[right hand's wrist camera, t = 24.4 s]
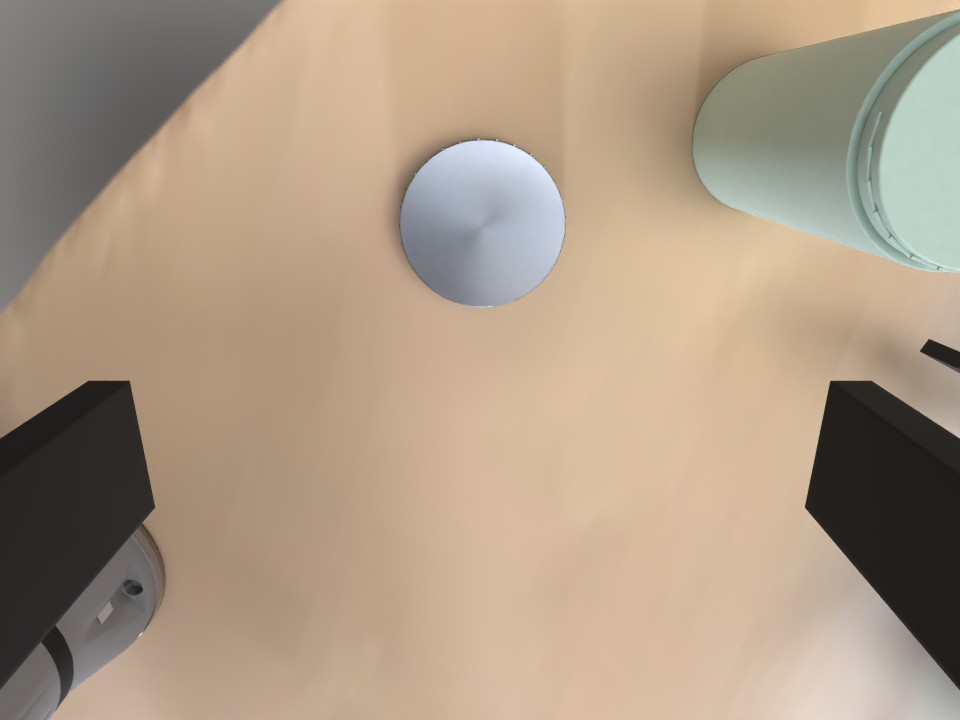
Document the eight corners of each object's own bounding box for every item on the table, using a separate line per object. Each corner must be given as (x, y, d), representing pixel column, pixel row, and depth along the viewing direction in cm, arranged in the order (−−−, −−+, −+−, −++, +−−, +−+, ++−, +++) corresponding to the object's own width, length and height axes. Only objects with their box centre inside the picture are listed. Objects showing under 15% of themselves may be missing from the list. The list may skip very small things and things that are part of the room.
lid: (571, 289, 41) (575, 295, 40) (418, 312, 42) (415, 319, 40) (553, 125, 38) (556, 125, 36) (386, 153, 38) (382, 154, 37)
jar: (666, 179, 39) (816, 224, 21) (738, 28, 36) (979, -61, 19) (792, 234, 40) (1032, 318, 23) (872, 92, 37) (1216, 62, 20)
